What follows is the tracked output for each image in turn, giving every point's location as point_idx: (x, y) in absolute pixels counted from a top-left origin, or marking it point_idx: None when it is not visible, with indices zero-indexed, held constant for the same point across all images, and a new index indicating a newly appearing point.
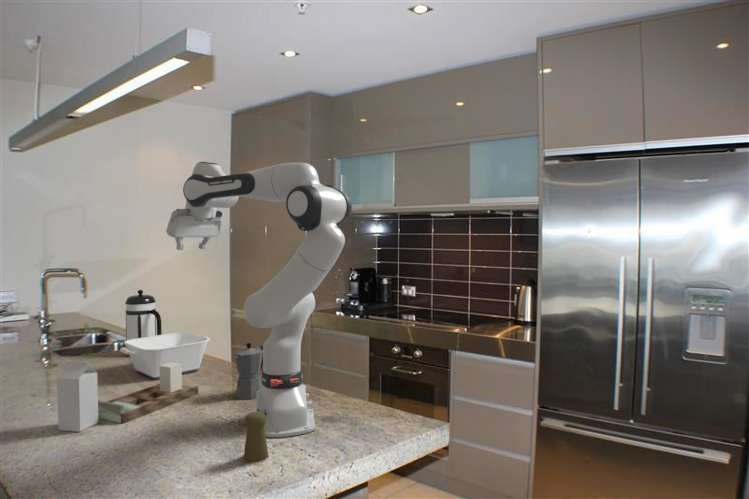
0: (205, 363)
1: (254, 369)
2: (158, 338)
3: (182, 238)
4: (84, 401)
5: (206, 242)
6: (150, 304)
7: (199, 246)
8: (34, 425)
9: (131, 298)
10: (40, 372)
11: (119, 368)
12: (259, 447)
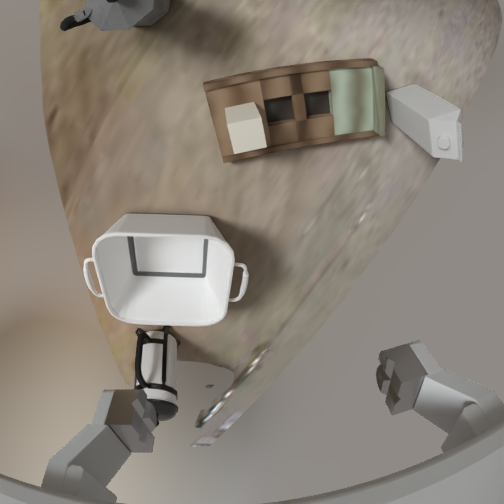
0: None
1: None
2: (158, 318)
3: (476, 423)
4: (429, 98)
5: (89, 442)
6: None
7: (153, 422)
8: (417, 156)
9: (171, 413)
10: (283, 334)
11: None
12: None
